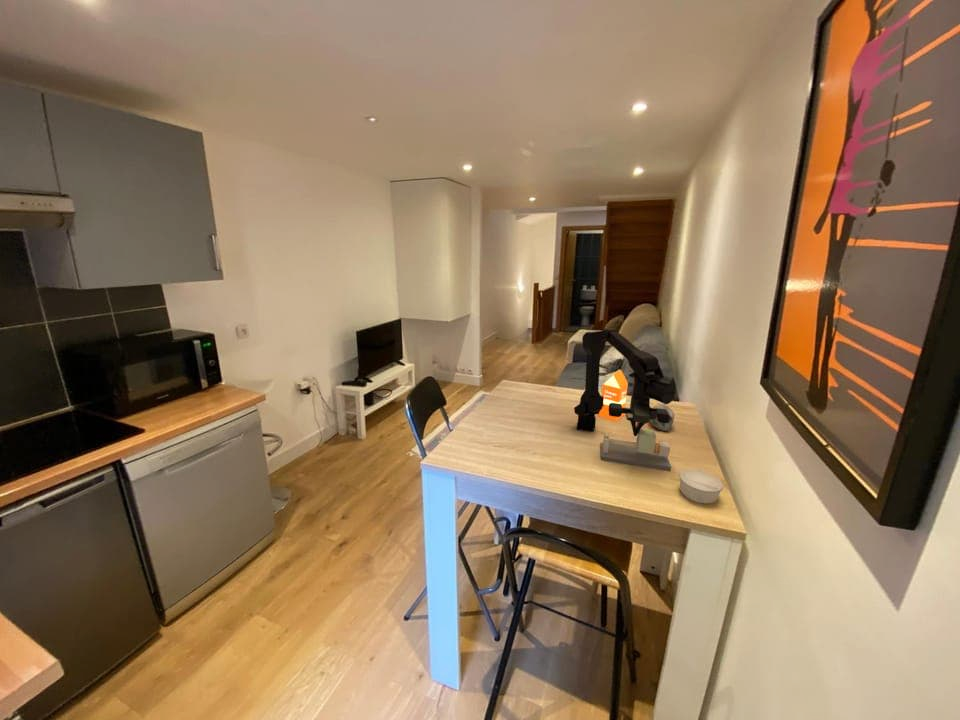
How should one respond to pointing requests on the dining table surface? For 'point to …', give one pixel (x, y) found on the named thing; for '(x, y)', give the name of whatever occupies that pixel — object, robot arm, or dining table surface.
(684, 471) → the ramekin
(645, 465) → the cord board
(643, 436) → the matte sage green cube
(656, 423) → the grey rounded oval lump
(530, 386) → the dining table surface
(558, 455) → the dining table surface
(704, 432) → the dining table surface
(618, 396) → the orange juice
